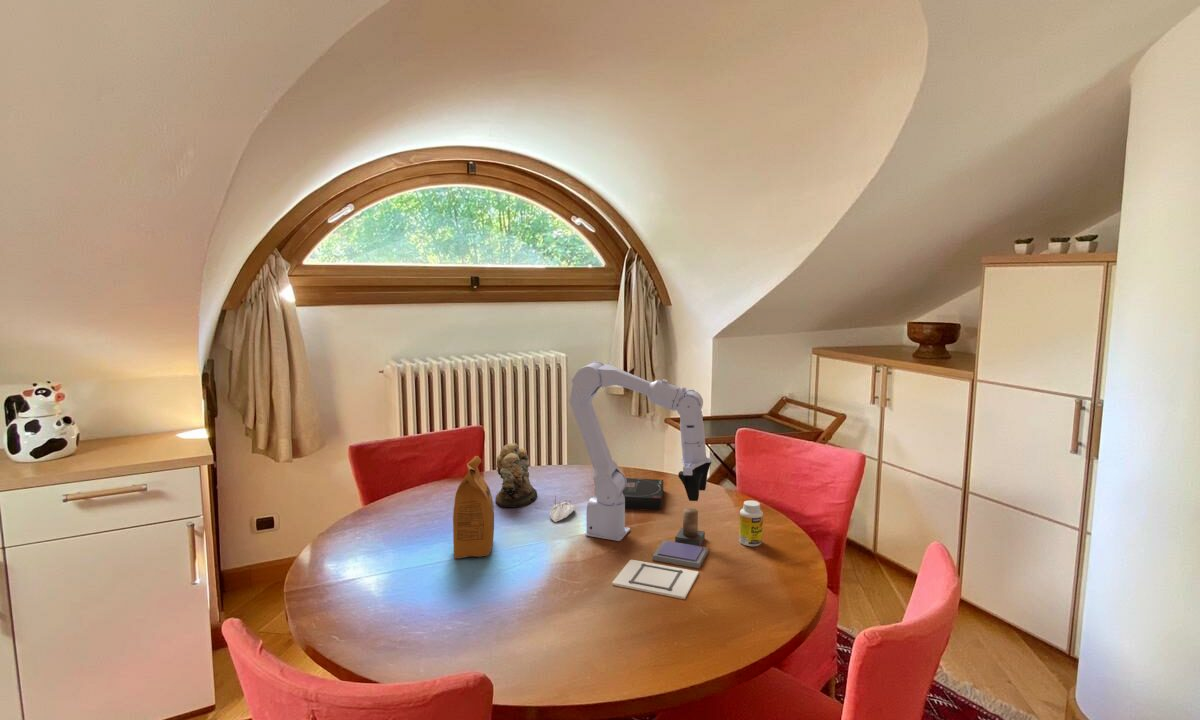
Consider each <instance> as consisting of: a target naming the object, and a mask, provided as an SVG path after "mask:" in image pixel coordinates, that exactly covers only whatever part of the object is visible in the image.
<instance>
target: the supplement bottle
mask: <svg viewBox="0 0 1200 720" xmlns="http://www.w3.org/2000/svg"><path fill="white" fill-rule="evenodd" d="M760 503H761V502H759V501H757V500H745V501H744V502H743V508H741V509H740V510H739V530H738V541H739V543H740V544H741V545H744V546H748V547H758V546H761V544H762V543H763V542H762V541H763V522H764V521H763V520H764V512H763V511H762V510H761V504H760Z"/></svg>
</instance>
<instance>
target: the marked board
mask: <svg viewBox="0 0 1200 720" xmlns="http://www.w3.org/2000/svg"><path fill="white" fill-rule="evenodd" d="M698 576H699V571H697V570H691V569H686V568H681V567H676V566H675V567H674V566H669V565H664V564H659V563H652V562H647V561H641V560H636V559H630V560H628V562H627V563H626V564H625V566H624V567H623V568H622V569H621V570H620V572H619V573H618V575H617V576H615V578H614V579H613V581H612V582H611V585H612V586H615V587H616V586H617V587H621V588H627V589H632V590H637V591H642V592H646V593H651V594H656V595H661V596H666V597H670V598H676V599H681V600H686V597H687V596H688V594H689V593H690V590H691V588H692V587H693V585H694V584H695V581H696V579H697V578H698Z"/></svg>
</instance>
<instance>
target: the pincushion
mask: <svg viewBox="0 0 1200 720" xmlns="http://www.w3.org/2000/svg"><path fill="white" fill-rule="evenodd" d="M556 503H557V502H556V497H554V505H553V507H552V508H551V510H550V513H549V517H550V518H551V520H552V521H553V522H555V523H557V522H558V521H561V520H563V519H566V518H567V517H568V516H569V515H570V514H572V513H573V512H574V511H575V505H574V504H572V503H571V502H568V501H564V502H558V503H557V504H556Z"/></svg>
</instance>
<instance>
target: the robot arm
mask: <svg viewBox="0 0 1200 720" xmlns="http://www.w3.org/2000/svg"><path fill="white" fill-rule="evenodd" d="M668 382H669V381H668V379H665V378H663V379H662V380H660V379H656V380H655V381H648V380H646V379H643V378H641V377H639V376H637V375H634V374H632V373H629V372H627V371H625V370H622V369H621V368H618V367H616V366H614V365H611V364H608V363H606V364H604V363H603V362H601V361H592V362H590V363H589V364H587V365H585V366H582V367H580V368H579V369H578V370H577V371H576V373H575V374H574V376H573V377H572V380H571V384H572V387H571V392H570V397H569V404H570V407H571V411H572V413H573V415H574V419H575V422H576V424H577V426H578V430H579V433H580V435H581V438H582V441H583V444H584V445H585V449H586V451H587V455H588V457H589V459H590V462H591V465H592V468H593V474H592V480H593V482H594V496H593V497H590V498H589V500H588V502H587V505H586V513H585V514H586V532H585V534H584V535H585V536H586V537H593V538H599V539H604V540H610V541H617V542H620V541H622V540H623V538H624V537H625V536H626V535H627V534H628V533H629V532H630V530H631V528H630V527H625V526H626V523H625V521H626V509H625V497H624V495H623V493H622V491H623V490H624V489H625V487H626V484H627V481H626V478H627V477H626V475H625V474H624V472H622V471H621V470H620V468H619V465H618V464H617V463H616V461H614V460H613V458H612V454H611V453H610V449H609V447H608V444H607V442H606V439H605V436H604V433H603V430H602V428H601V425H600V423H599V418H598V417H597V414H596V411H595V408H594V405H593V403H592V402H593V400H594V398H595V396H596V395H597V393H598V392H597V391H599V390H600V388H608V387H612V386H618V387H622V388H625V389H627V390H631V391H633V392H637V393H640V394H642V395H643V394H644V395H645V396H646V397H647V398H648V401H649V402H650V403H653V404H656V405H658V406H660V407H664V408H665V409H668V410H671V411H676V412H677V414H678V415H679V420H680V421H679V422H680V423H679V429H680V440H681V441H680V442H681V443H680V444H681V445H680V446H681V453H682V454H681V455H682V459H681V463H682V471H681V470H680V471H679V472H678V478H679V479H680V481H681V482H682V485H683V487H684V490H685V492H686V496H687V499H688V501H690V502H698V501H699V496H700V491H706V487H707V479H708V475H709V470H710V467H711V465H712V458H711V457H707V450H706V449H707V448H706V438H705V437H706V434H705V423H704V421H703V418H704V415H703V412H702V408H703V406H704V400H703V399H704V398H703V397H702V394H700V393H699V392H698V391H696V390H695V389H687V387H684V386H682V387H679V386H676V385H673V384H671V383H668Z"/></svg>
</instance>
